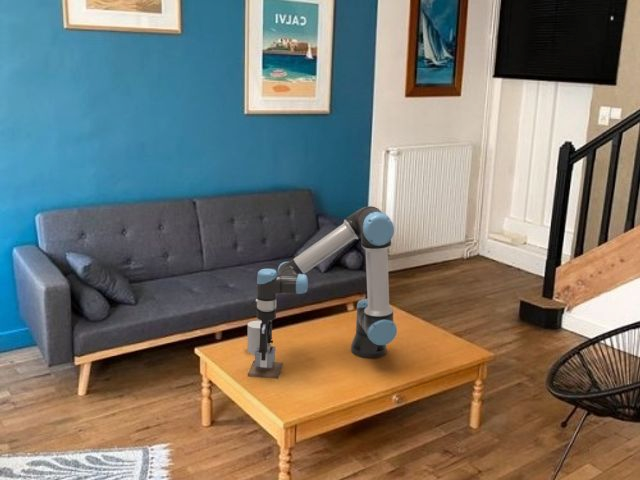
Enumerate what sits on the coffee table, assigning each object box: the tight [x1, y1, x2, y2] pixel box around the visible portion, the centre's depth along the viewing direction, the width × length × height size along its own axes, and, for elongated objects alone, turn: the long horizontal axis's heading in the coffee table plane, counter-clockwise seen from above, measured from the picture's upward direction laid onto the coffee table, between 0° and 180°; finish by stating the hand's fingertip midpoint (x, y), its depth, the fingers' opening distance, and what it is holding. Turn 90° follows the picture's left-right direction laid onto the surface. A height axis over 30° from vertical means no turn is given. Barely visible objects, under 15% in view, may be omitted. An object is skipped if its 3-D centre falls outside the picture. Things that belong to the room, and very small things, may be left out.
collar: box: [254, 345, 276, 368], centre depth 269 cm, size 7×7×6 cm
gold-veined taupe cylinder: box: [246, 320, 262, 356], centre depth 287 cm, size 8×8×12 cm
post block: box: [247, 345, 284, 379], centre depth 269 cm, size 12×12×10 cm
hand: (265, 362), depth 269 cm, fingers closed on collar, 7 cm apart
